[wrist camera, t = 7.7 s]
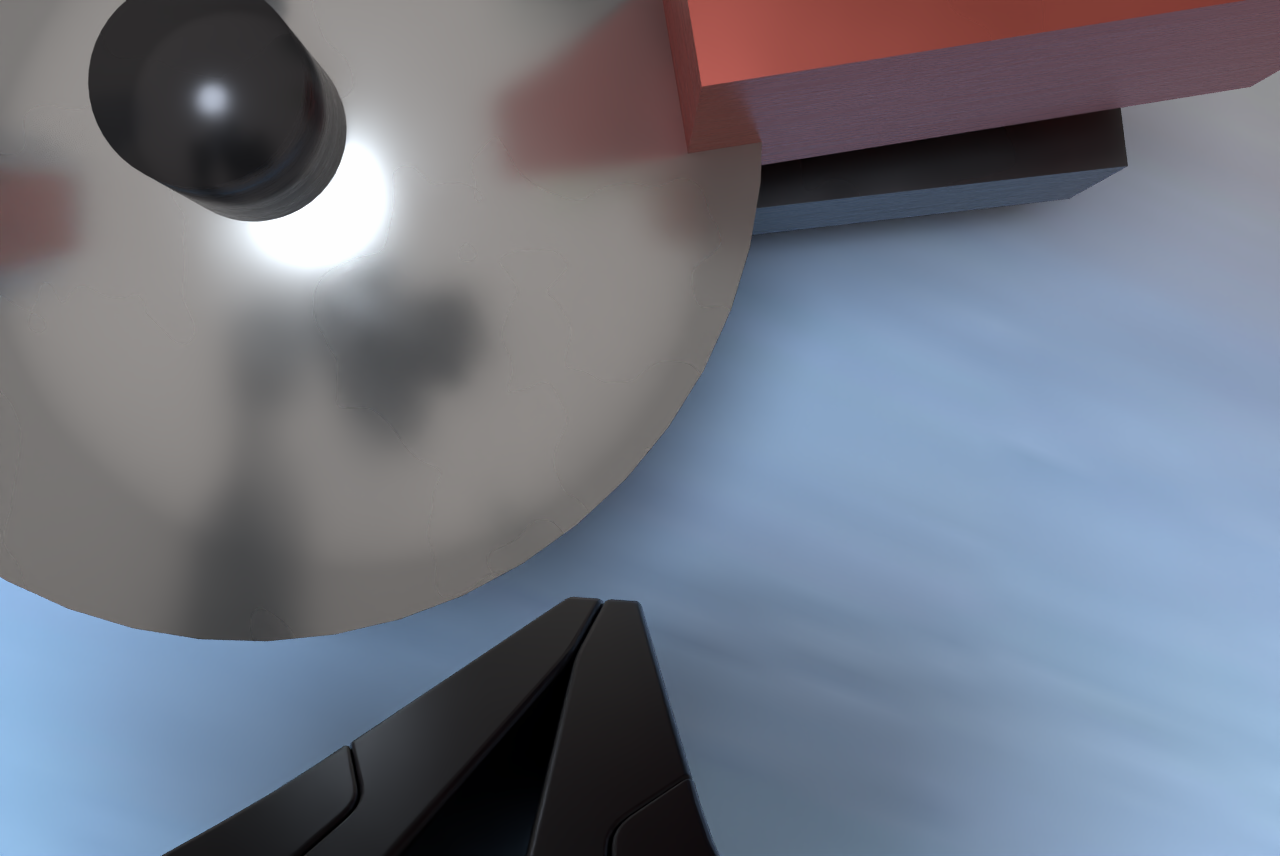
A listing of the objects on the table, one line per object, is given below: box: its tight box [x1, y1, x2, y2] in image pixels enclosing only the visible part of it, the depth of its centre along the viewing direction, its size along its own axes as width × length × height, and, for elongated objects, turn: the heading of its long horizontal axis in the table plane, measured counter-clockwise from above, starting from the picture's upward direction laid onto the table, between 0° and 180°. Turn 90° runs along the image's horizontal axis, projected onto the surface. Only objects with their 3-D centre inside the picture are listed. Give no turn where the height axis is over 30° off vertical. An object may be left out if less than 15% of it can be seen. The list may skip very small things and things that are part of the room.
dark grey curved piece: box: [752, 108, 1128, 235], centre depth 18 cm, size 14×24×6 cm, turn 97°
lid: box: [0, 0, 1280, 641], centre depth 13 cm, size 14×25×4 cm, turn 99°
